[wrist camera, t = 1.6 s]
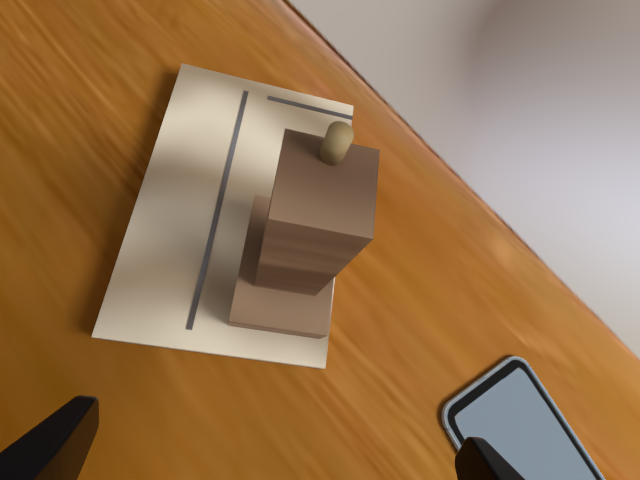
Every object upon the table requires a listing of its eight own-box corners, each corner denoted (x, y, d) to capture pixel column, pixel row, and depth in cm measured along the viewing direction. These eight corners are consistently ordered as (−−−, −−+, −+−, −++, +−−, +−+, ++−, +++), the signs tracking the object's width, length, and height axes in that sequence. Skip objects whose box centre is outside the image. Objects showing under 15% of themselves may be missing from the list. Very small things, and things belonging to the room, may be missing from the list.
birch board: (319, 368, 22) (325, 368, 20) (101, 339, 20) (90, 336, 19) (347, 119, 28) (353, 105, 27) (184, 79, 26) (182, 62, 25)
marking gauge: (319, 338, 21) (416, 298, 10) (229, 325, 20) (221, 264, 9) (332, 224, 23) (422, 86, 12) (253, 209, 23) (270, 46, 11)
